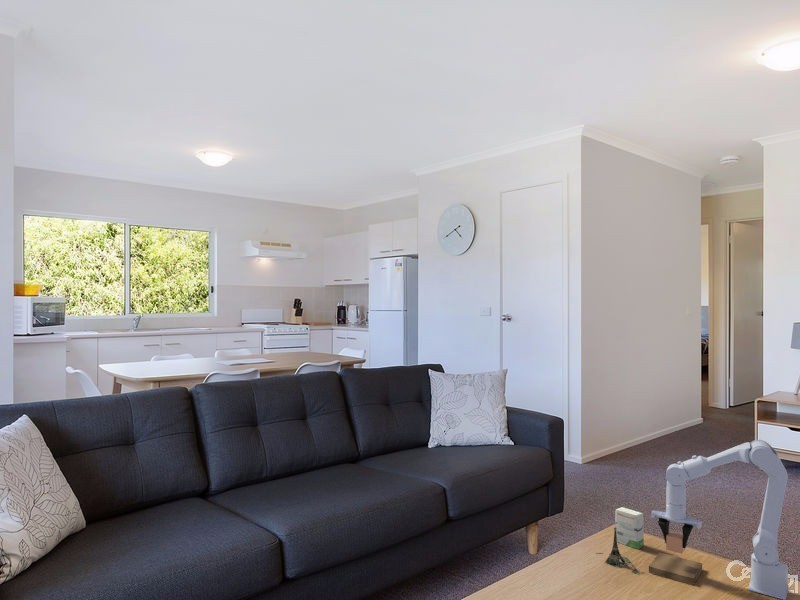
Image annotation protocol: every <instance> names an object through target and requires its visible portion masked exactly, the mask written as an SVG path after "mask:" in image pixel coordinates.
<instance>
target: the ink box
mask: <svg viewBox="0 0 800 600" xmlns="http://www.w3.org/2000/svg"><path fill="white" fill-rule="evenodd" d="M614 513H615V515H614V518H615V519H614V523H615V524H616V535H617V544H618V543H619V544H622V545H625V546H627V547H630V548H633V549H636V550H638V549H641V548H642V547H644V545H645V544H644V543H645V542H644V541H645V540H644V513H643V512H640V511H637V510H633V509H629V508H627V507H622V506H621V507H619V508H616V509H614Z"/></svg>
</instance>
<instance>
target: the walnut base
mask: <svg viewBox="0 0 800 600" xmlns="http://www.w3.org/2000/svg"><path fill="white" fill-rule="evenodd" d="M702 571H703V563H702V562H699V561H695V560H691V559H687V558H682V557H680V556H677V555H671V554H668V553H663V552H660V551H659V552H658V553H657V555H656V556H655V557H654V558H653V560H652V561H651V563H650V564H649V566H648V573H650V574H652V573H653V574H652V575H657V576H660V577H663V576H664V577H663V578H667V579H671V580H674V581H678V582H681V583H684V584H689V585H692V586H694V585H695V583H696V581H697V579H698V578H699V576H700V574H701V572H702Z"/></svg>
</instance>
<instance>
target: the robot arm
mask: <svg viewBox="0 0 800 600" xmlns="http://www.w3.org/2000/svg"><path fill="white" fill-rule="evenodd" d="M749 460H750V461H751V462H752V464H754V465H755V466H756V467H758V468H760V469H761V470H763V472H764V473H765V474H766V475H767V476H768V478H767V484H766V489H765V495H764V500H763V505H762V510H761V515H760V522H759V524H758V526H757V531H756V533H755V534H754V535H753V536H752V538H751V539H752V540H751V542H752V543H751V544H752V545H753V553H751V555H750V581H749V584H748V587H747V590H748V591H749V592H750V591H751V592H754V593H757V594H761V595H765V596H769V597H773V598H776V599H779V600H787V596H788V591H789V584H788V583H789V569H788V568H789V566H788V564H785V563H782V562H781V561H780V559H779V557H780V554H779V550H778V533H779V527H780V522H781V516H782V511H783V506H784V501H785V500H784V499H785V497H786V495H785V494H786V489H787V485H788V478H789V474H788V472H787V469H786V468H785V466H784V464H783V462H782V460H781V458H780V457H779V455H778V453H777V451H776V450H775V448H774V447H772V445H771V444H769V443H768V442H767V441H766V440H762V439H754V440H752V441H750V442H749V441H748V442H743V443H741V444H738V445H736V446H734V447H731V448H728V449H726V450H723V451H721V452H718V453H715V454H713V455H711V456H708V457H705V456H703V455H698V456H697V455H696V454H695V455H692V456H691V458H689V459H687V460H683V461H681V460H679V461H677V463H672V464H670V465H668V467H667V468H666V471H665V472H666V473H665V478H666V489H665V491H666V492H665V493H666V494H665V498H666V499H665V500H666V501H665V511H659V510H653V509H652V510H651V512H650V513H651V515H650V516H651V517H650V518H651V519H658V521H657V525H658V526H659V528H660V530H661V532H662V536H663V539H664V543H665V544H666V536H667V534H668V533H669V532H670V523H676V524H681V525H683V526H682V527H681V529H682V534H683V548H685V549H686V548H687V545H688V540H689V537H690V535H691V532H692V530H693V528H696V529H698V530H699V529H701V528H702V520H700V519H696V518H693V517H690V516H687V514H686V513H687V508H686V507H687V489H686V482H687V481H691V480H694V479H697V478H700V477H703V476H706V475H710V473H711V471H712V469H713V468H717V467H719V466H723V465H727V464H729V463H730V464H731V463H733V462H736V461H739V462H743V463H746V464H750V461H749Z"/></svg>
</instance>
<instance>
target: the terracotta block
mask: <svg viewBox="0 0 800 600" xmlns="http://www.w3.org/2000/svg"><path fill="white" fill-rule="evenodd" d="M665 546H666V548H665V549H666V551H669V552H674V553H679V554H684V551H685V550H686V548H683V533H678V532H675V531H670V530H669V533H668V534H667V536H666V543H665Z"/></svg>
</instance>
